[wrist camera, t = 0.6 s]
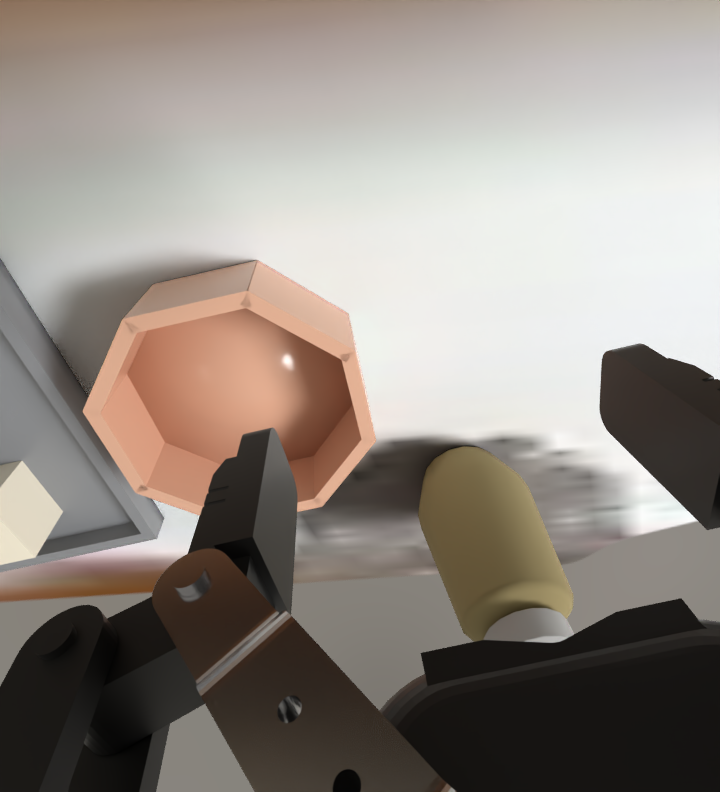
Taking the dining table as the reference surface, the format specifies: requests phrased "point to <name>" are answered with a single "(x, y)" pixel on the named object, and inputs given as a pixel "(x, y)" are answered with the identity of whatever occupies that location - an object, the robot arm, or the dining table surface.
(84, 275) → the dining table surface
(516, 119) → the dining table surface
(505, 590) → the squeeze bottle
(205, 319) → the bowl
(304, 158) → the dining table surface
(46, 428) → the parts tray
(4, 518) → the sandy stone
